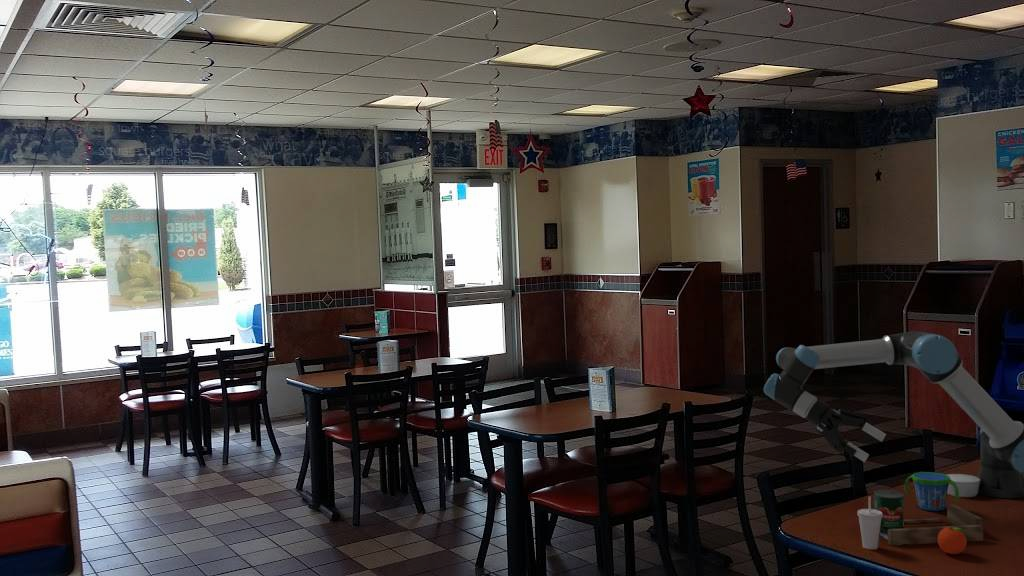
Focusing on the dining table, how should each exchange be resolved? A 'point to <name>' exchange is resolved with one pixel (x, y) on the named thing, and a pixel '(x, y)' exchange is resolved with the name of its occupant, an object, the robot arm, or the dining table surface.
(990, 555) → the dining table surface
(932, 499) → the snack cup
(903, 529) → the bay
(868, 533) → the smoothie
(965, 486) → the ramekin
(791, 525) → the dining table surface
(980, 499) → the dining table surface
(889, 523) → the canned tomato
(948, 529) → the clementine
